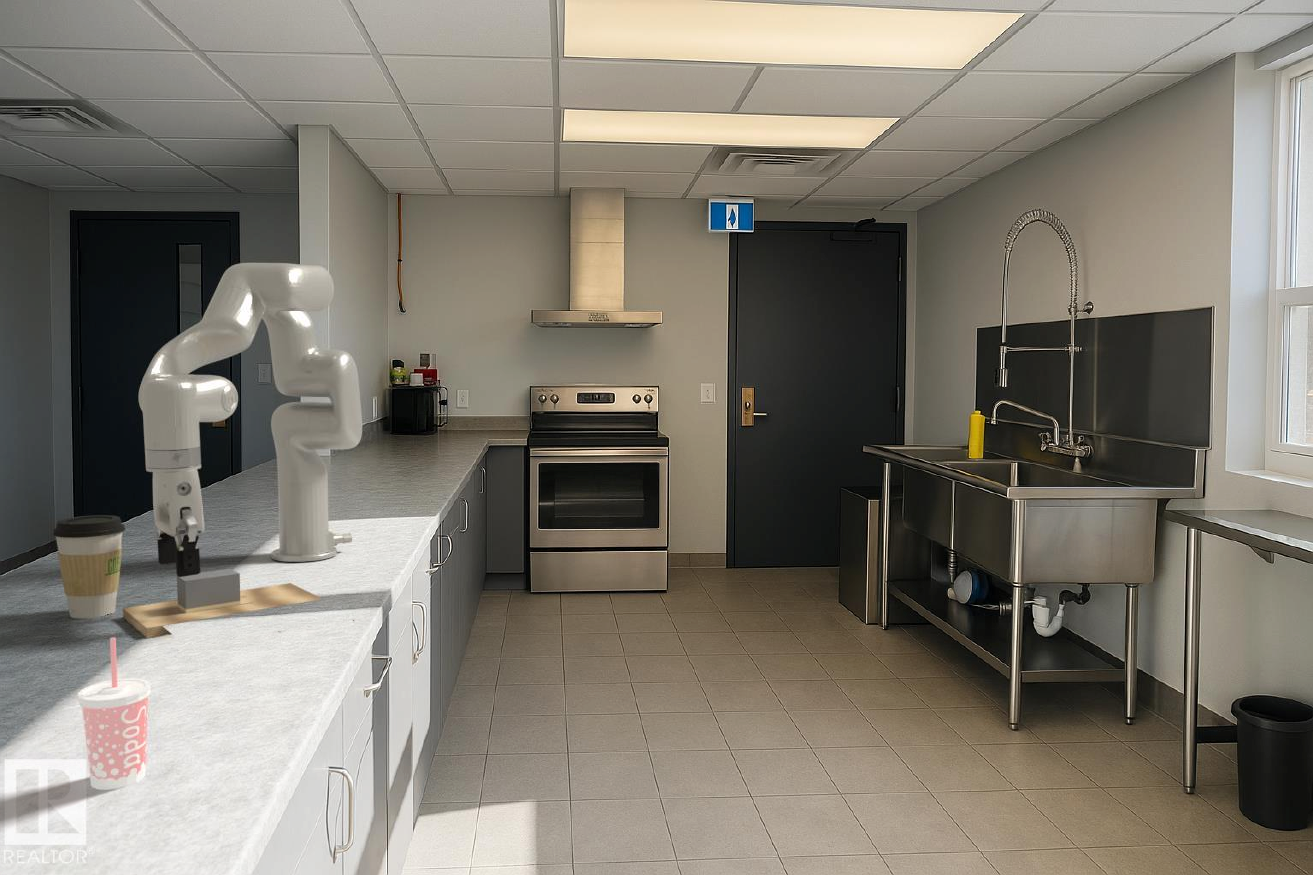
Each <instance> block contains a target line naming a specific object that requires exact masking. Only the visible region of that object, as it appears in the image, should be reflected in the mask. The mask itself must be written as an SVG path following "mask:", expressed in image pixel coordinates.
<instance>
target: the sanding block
mask: <svg viewBox="0 0 1313 875" xmlns="http://www.w3.org/2000/svg"><path fill="white" fill-rule="evenodd" d="M240 575H241V574H240V573H239V572H237V571H235V570H234V569H231V568H227V569H226V568H225V569H217V570H211V571H210V570H209V571H203V572H200V573H199V574H197V575H190V576H184V577H178V576H177V575H176V584H177V585H176V588H177V589H176V591H177V592H176V593H177V600H178V608H180V609H181V610H183V611H184V612H185V613H191V612H197V611H203V610H209V609H216V608H222V607H228V606H234V605H240V604H241V603H240V591H241V576H240Z"/></svg>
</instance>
